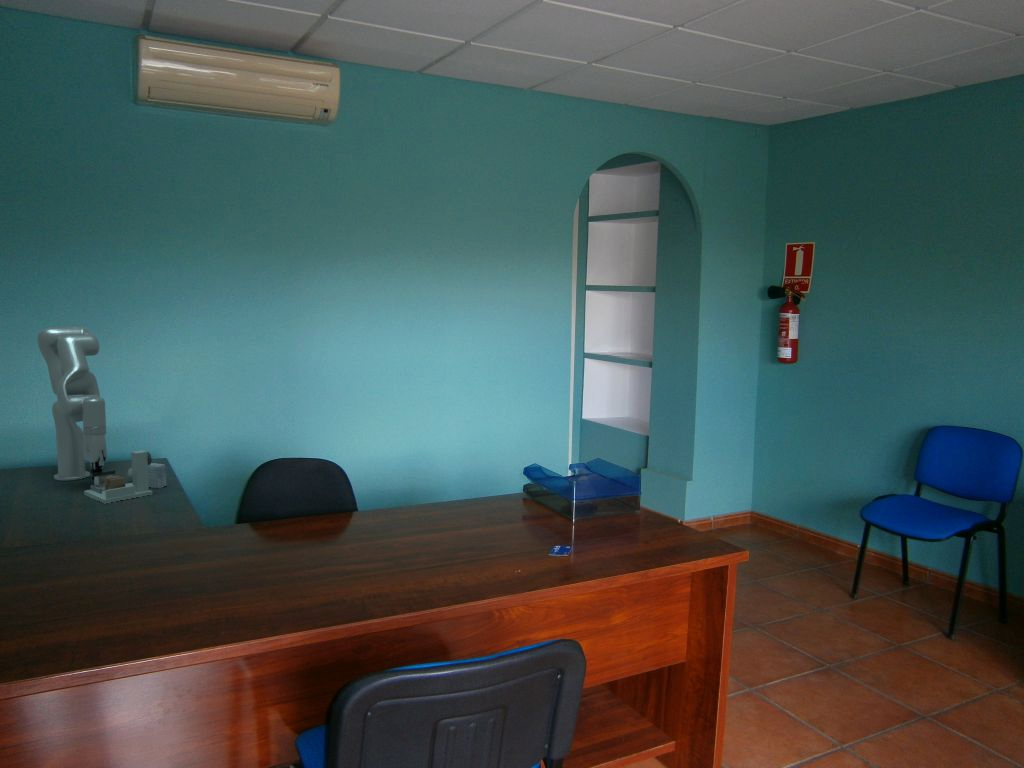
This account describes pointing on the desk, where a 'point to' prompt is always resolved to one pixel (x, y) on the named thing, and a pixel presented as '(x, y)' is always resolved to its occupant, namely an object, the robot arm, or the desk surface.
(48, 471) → the desk surface
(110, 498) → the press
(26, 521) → the desk surface
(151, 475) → the medicine box
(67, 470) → the robot arm
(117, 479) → the block
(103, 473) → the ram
